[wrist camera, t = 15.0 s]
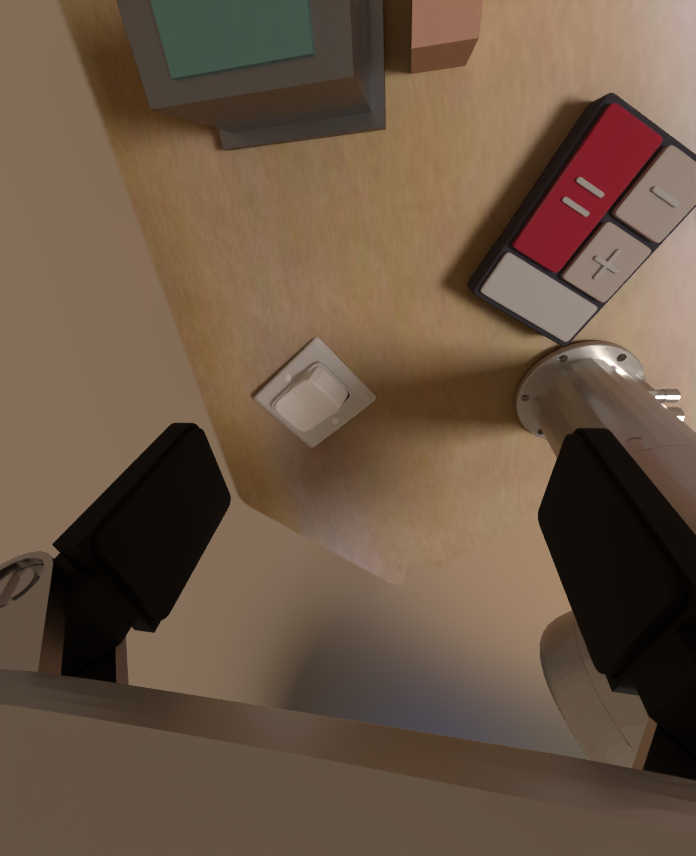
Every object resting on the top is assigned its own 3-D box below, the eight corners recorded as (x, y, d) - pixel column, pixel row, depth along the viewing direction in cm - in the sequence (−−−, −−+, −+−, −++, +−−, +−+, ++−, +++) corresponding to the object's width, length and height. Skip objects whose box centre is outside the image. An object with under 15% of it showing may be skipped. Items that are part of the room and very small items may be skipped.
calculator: (734, 174, 24) (568, 351, 32) (690, 179, 28) (551, 336, 36) (616, 85, 22) (472, 295, 30) (586, 102, 26) (464, 286, 34)
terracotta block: (472, -19, 23) (489, -73, 18) (465, 65, 25) (478, 37, 20) (412, -8, 23) (413, -57, 19) (411, 73, 26) (411, 48, 21)
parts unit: (383, -27, 23) (364, -188, 13) (385, 129, 28) (373, 98, 18) (197, 12, 25) (61, -99, 15) (228, 150, 30) (139, 133, 20)
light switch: (377, 408, 41) (307, 460, 46) (378, 392, 44) (313, 443, 50) (312, 343, 37) (244, 409, 43) (318, 331, 40) (255, 394, 46)
